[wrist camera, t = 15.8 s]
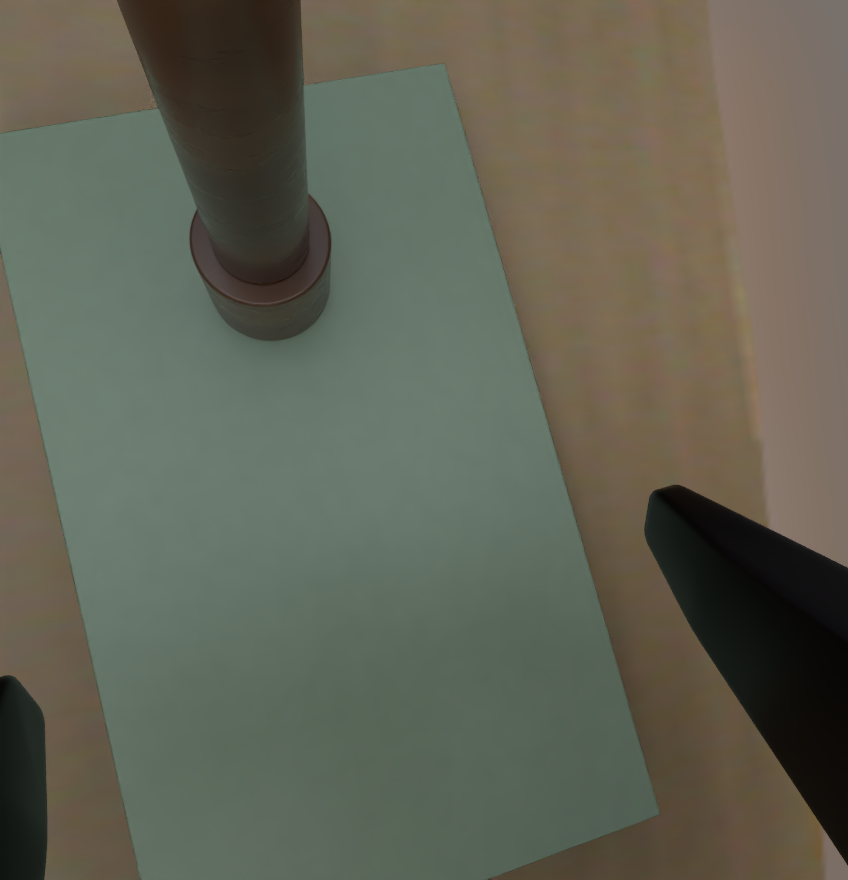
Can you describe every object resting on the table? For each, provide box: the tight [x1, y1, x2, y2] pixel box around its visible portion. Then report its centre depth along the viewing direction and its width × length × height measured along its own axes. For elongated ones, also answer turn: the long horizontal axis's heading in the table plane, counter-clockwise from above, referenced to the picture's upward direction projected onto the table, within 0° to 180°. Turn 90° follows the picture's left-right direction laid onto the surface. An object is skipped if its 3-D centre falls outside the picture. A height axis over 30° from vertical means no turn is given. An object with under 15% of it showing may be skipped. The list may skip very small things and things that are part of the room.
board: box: [0, 63, 660, 880], centre depth 19 cm, size 22×13×2 cm, turn 15°
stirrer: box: [117, 0, 331, 341], centre depth 12 cm, size 3×3×13 cm
